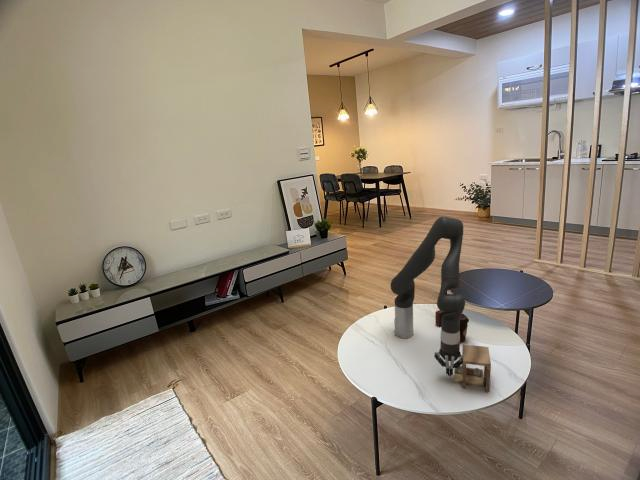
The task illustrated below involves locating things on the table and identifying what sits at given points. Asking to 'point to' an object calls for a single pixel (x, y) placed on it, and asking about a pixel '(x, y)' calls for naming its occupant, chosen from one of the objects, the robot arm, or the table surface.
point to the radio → (440, 317)
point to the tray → (469, 376)
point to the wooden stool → (477, 361)
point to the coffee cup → (463, 327)
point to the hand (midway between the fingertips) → (449, 374)
